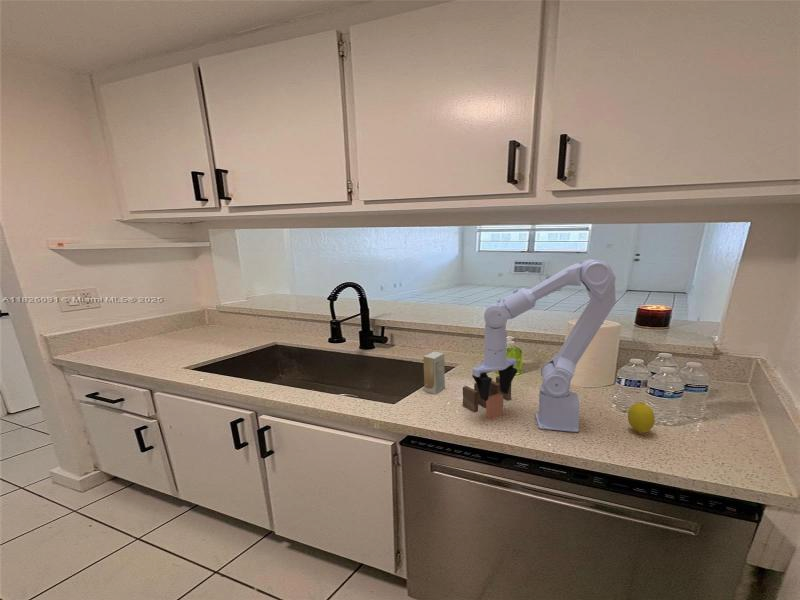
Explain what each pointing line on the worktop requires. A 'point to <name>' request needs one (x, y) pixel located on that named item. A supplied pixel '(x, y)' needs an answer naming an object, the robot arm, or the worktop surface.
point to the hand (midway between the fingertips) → (494, 395)
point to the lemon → (641, 417)
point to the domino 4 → (494, 406)
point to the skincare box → (434, 372)
